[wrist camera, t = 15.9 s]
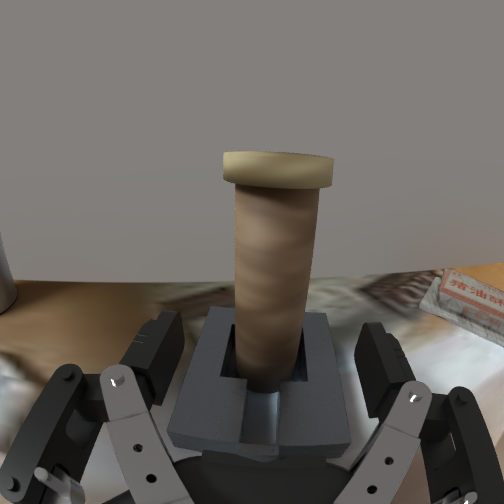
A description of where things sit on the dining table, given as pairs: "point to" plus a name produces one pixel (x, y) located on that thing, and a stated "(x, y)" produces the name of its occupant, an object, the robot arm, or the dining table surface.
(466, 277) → the packaged product
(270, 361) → the walnut peg
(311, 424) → the keyhole plate
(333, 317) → the dining table surface
